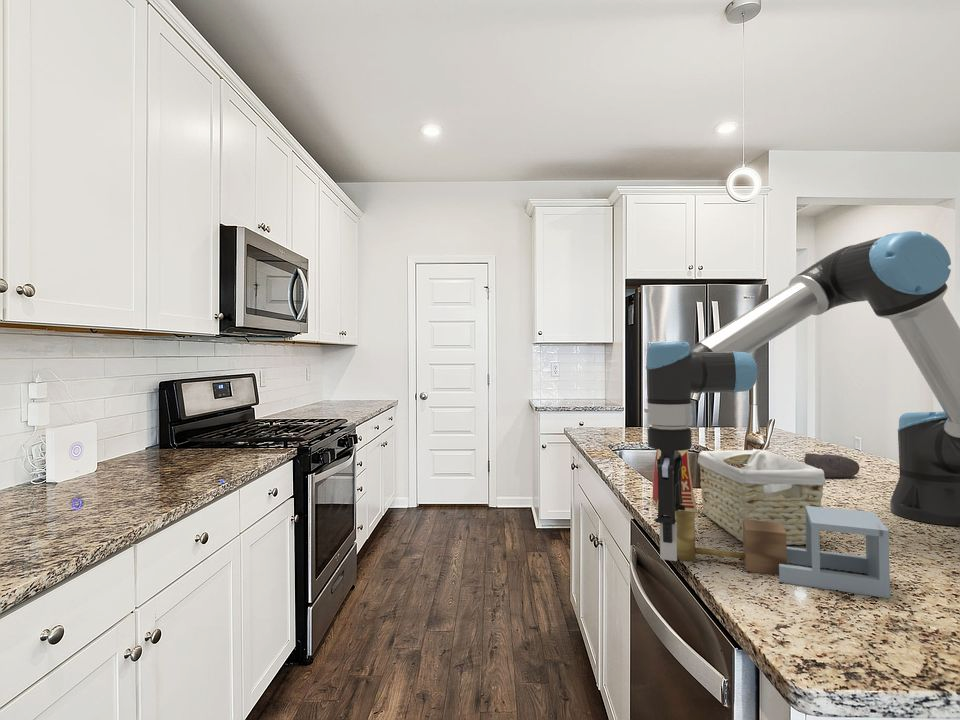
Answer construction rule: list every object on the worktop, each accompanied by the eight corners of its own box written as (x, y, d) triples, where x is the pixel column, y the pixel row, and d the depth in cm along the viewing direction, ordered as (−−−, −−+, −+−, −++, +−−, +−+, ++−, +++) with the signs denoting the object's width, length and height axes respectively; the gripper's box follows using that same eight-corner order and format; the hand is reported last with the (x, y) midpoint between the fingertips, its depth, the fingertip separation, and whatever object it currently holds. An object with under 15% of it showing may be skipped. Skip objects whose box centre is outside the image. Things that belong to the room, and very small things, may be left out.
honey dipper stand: (781, 562, 92) (780, 517, 92) (786, 576, 87) (786, 527, 87) (677, 550, 99) (676, 508, 99) (675, 562, 93) (674, 517, 93)
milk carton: (697, 512, 123) (695, 426, 123) (656, 510, 125) (654, 425, 125) (690, 501, 132) (688, 421, 132) (651, 500, 134) (650, 421, 134)
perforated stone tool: (855, 476, 156) (855, 452, 156) (864, 480, 151) (864, 456, 151) (799, 475, 159) (798, 451, 159) (805, 479, 154) (805, 455, 154)
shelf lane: (875, 572, 88) (873, 512, 88) (890, 598, 78) (888, 530, 78) (776, 559, 94) (775, 502, 94) (779, 582, 85) (778, 519, 85)
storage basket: (695, 512, 123) (694, 449, 123) (767, 512, 123) (766, 448, 123) (741, 549, 100) (740, 470, 100) (830, 549, 99) (829, 470, 99)
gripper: (656, 419, 107) (658, 533, 108) (638, 432, 90) (640, 568, 90) (696, 421, 104) (698, 538, 104) (685, 434, 86) (688, 575, 86)
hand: (671, 551), depth 97 cm, fingers open, 7 cm apart
